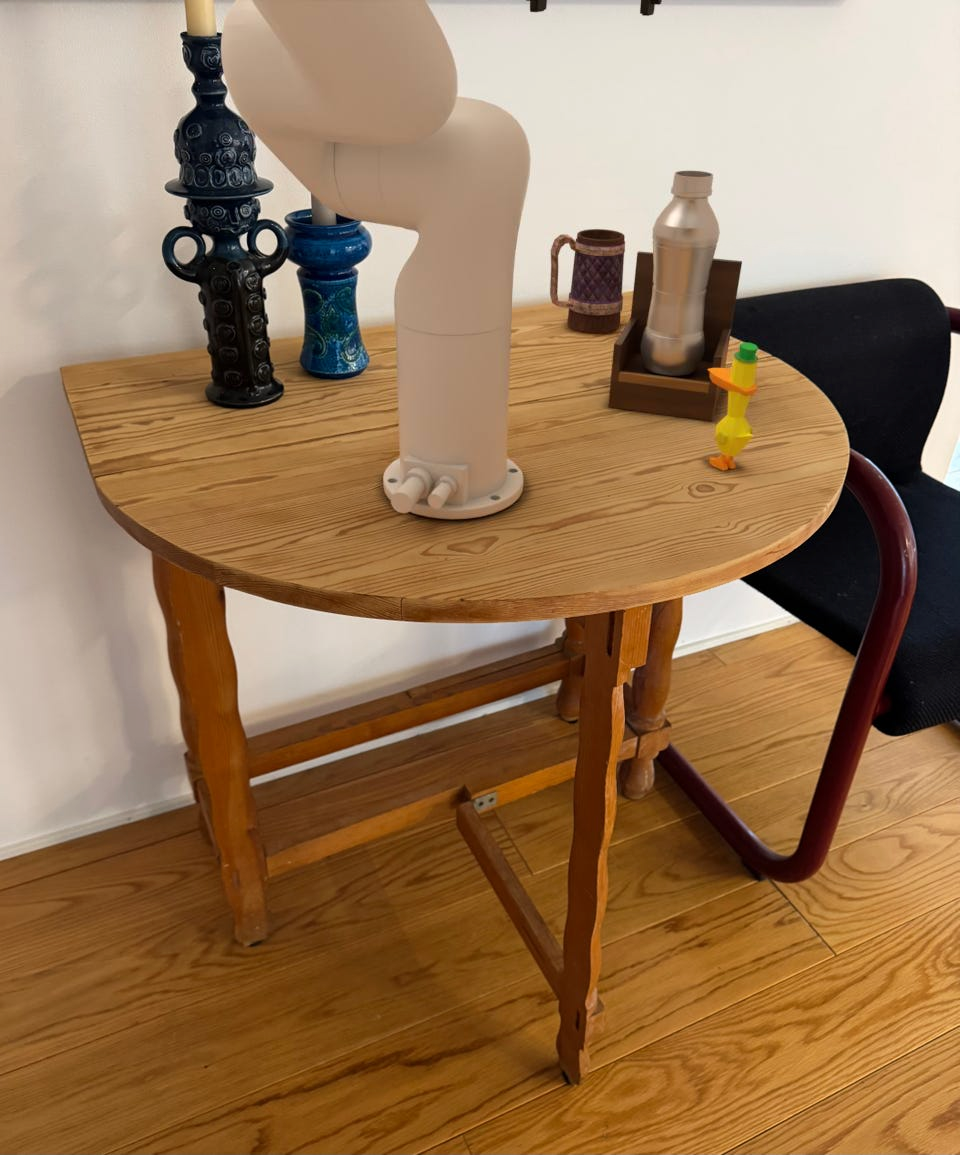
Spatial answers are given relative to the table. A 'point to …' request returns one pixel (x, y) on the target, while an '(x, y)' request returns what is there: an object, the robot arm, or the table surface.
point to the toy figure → (735, 404)
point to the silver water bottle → (680, 277)
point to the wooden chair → (668, 392)
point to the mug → (592, 280)
